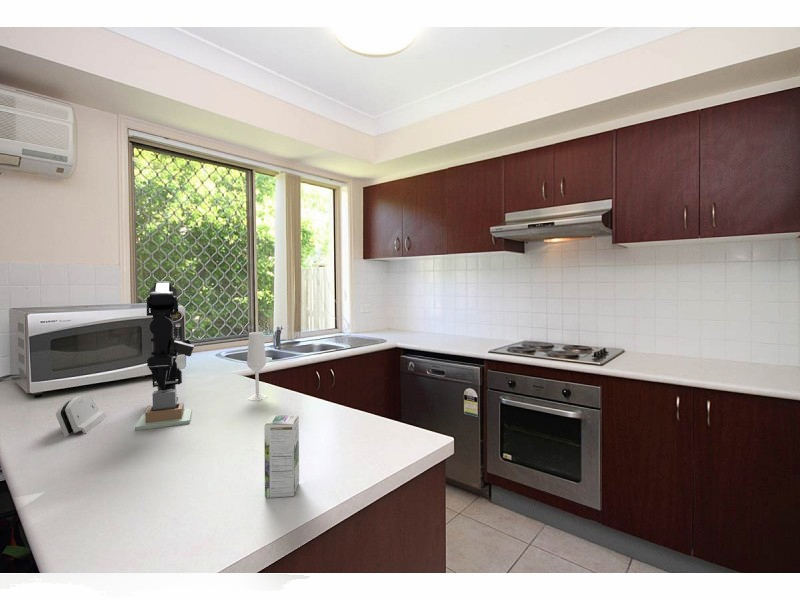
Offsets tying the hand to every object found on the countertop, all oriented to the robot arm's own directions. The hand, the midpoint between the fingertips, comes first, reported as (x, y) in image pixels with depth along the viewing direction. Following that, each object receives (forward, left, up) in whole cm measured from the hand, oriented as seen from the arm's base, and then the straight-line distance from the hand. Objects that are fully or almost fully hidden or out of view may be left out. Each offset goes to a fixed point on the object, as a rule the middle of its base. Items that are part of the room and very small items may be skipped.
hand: (164, 384), depth 127 cm
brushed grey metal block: (0, 0, -10) cm, 10 cm away
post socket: (0, 0, -11) cm, 11 cm away
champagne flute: (-15, +28, -11) cm, 34 cm away
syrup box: (+60, +27, -11) cm, 67 cm away
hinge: (-5, -22, -12) cm, 26 cm away
